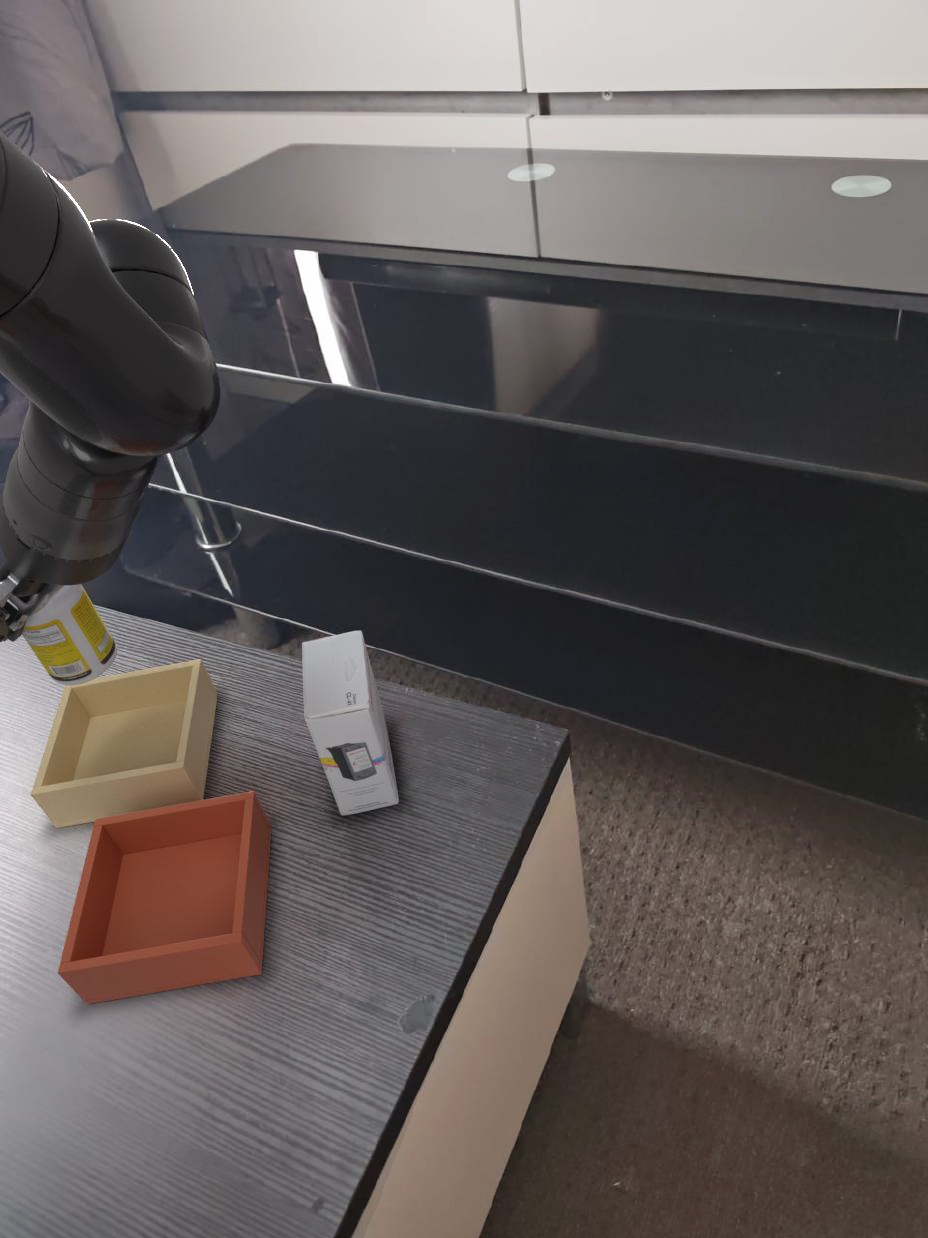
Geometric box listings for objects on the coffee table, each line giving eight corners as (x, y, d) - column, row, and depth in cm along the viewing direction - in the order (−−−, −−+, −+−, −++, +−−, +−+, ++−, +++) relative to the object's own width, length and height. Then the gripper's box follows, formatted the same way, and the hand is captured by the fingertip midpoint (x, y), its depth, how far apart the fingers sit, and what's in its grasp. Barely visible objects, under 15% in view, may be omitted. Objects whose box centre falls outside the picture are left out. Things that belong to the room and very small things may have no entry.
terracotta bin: (261, 974, 63) (240, 941, 60) (87, 1004, 63) (57, 973, 60) (272, 825, 72) (254, 790, 69) (119, 853, 73) (94, 819, 70)
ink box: (334, 738, 78) (296, 638, 70) (392, 725, 78) (361, 624, 70) (340, 821, 72) (299, 721, 64) (403, 806, 72) (370, 705, 64)
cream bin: (202, 802, 75) (183, 767, 72) (56, 828, 76) (30, 795, 72) (218, 693, 84) (201, 658, 81) (87, 717, 85) (65, 683, 82)
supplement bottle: (100, 630, 75) (44, 534, 68) (131, 657, 72) (76, 560, 65) (39, 668, 72) (-24, 573, 66) (69, 698, 69) (6, 602, 63)
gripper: (107, 398, 60) (66, 515, 73) (-76, 528, 51) (-84, 633, 64) (196, 479, 61) (140, 579, 74) (31, 619, 52) (1, 704, 65)
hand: (35, 604), depth 69 cm, fingers closed on supplement bottle, 5 cm apart
